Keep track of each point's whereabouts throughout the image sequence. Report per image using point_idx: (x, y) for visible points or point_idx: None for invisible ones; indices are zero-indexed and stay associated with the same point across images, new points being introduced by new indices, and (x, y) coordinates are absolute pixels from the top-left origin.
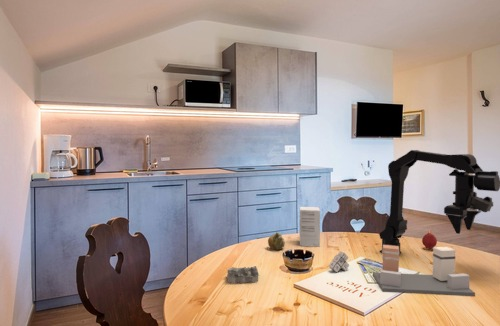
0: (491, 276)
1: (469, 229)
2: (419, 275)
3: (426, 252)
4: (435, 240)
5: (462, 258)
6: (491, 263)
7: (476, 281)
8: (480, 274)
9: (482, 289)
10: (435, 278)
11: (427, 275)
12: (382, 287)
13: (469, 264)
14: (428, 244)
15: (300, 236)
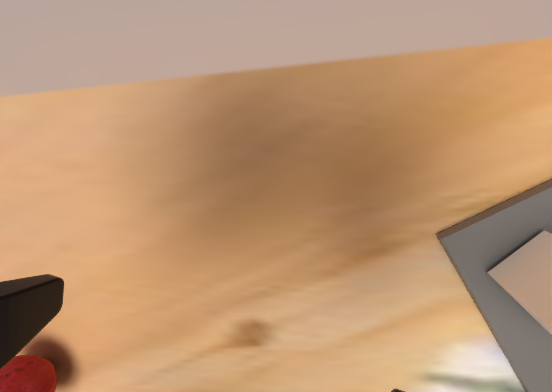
0: (279, 84)
1: (58, 286)
2: (542, 378)
3: (104, 369)
4: (4, 378)
5: (83, 228)
6: (67, 107)
7: (411, 138)
8: (281, 133)
9: (531, 99)
10: None
11: (518, 347)
12: None
13: (154, 193)
14: (49, 389)
15: None
